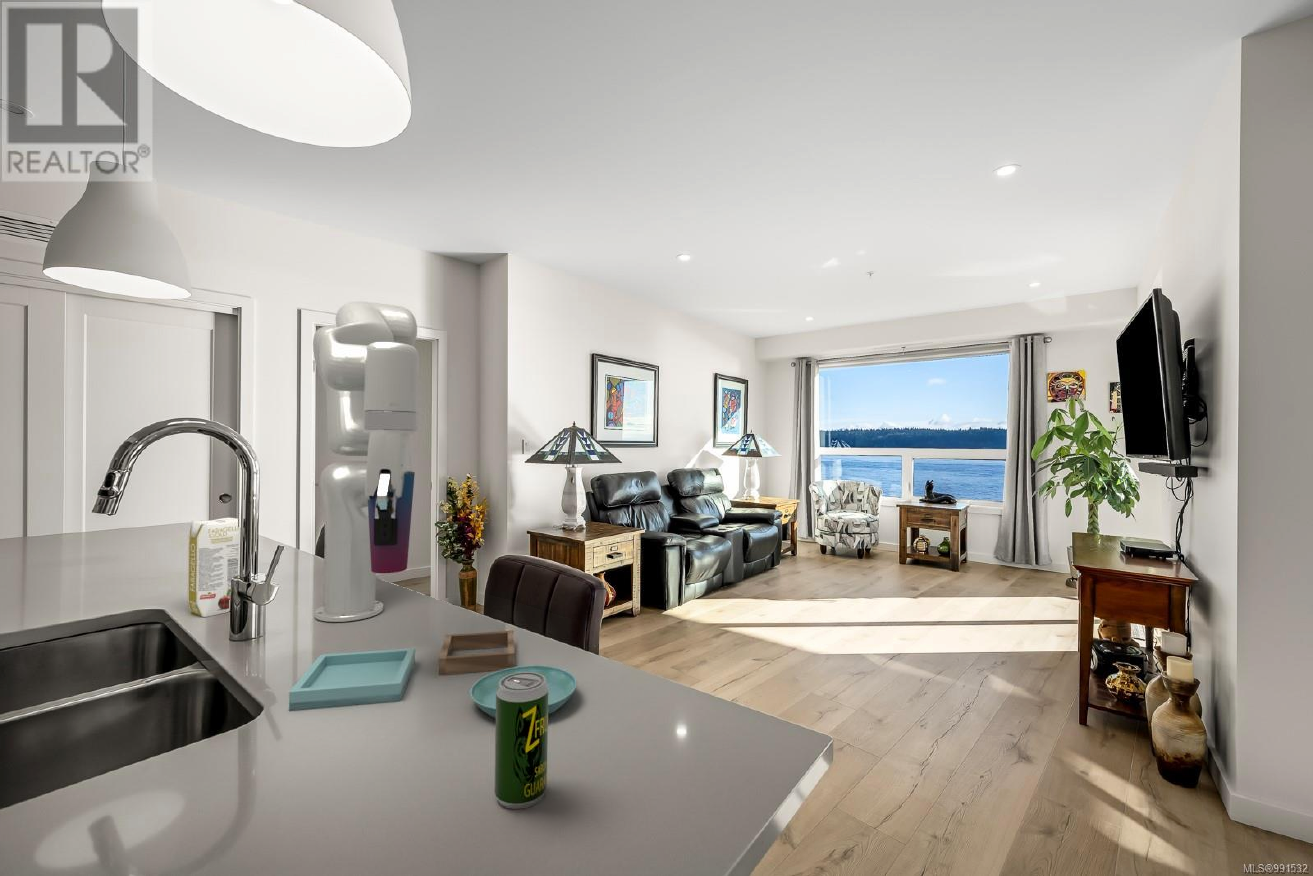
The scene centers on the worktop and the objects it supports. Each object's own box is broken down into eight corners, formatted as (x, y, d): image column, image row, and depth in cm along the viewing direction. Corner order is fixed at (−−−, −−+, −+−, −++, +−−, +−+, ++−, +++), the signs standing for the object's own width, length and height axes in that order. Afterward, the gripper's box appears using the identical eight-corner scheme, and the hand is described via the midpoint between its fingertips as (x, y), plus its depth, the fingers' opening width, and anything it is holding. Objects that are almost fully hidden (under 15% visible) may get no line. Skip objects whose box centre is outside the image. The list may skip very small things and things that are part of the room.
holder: (445, 649, 104) (446, 634, 104) (513, 644, 107) (513, 630, 107) (438, 675, 93) (438, 659, 93) (514, 669, 95) (514, 653, 95)
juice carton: (248, 609, 125) (249, 519, 125) (200, 619, 117) (201, 524, 117) (230, 603, 129) (231, 516, 129) (183, 613, 121) (184, 520, 121)
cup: (402, 575, 88) (403, 474, 88) (356, 574, 88) (357, 473, 88) (420, 565, 95) (421, 471, 94) (377, 564, 94) (378, 470, 94)
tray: (320, 670, 94) (320, 654, 94) (415, 663, 97) (415, 648, 97) (289, 710, 80) (289, 692, 80) (400, 700, 84) (400, 683, 84)
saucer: (521, 674, 94) (521, 657, 94) (597, 696, 87) (597, 678, 87) (446, 711, 81) (446, 692, 81) (527, 741, 74) (527, 719, 74)
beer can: (483, 803, 61) (485, 686, 61) (514, 775, 66) (516, 668, 66) (528, 816, 59) (530, 696, 59) (556, 787, 64) (558, 676, 64)
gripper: (374, 423, 98) (372, 532, 98) (352, 422, 82) (350, 553, 82) (422, 424, 100) (421, 531, 100) (410, 424, 84) (408, 551, 84)
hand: (389, 539), depth 91 cm, fingers closed on cup, 6 cm apart
